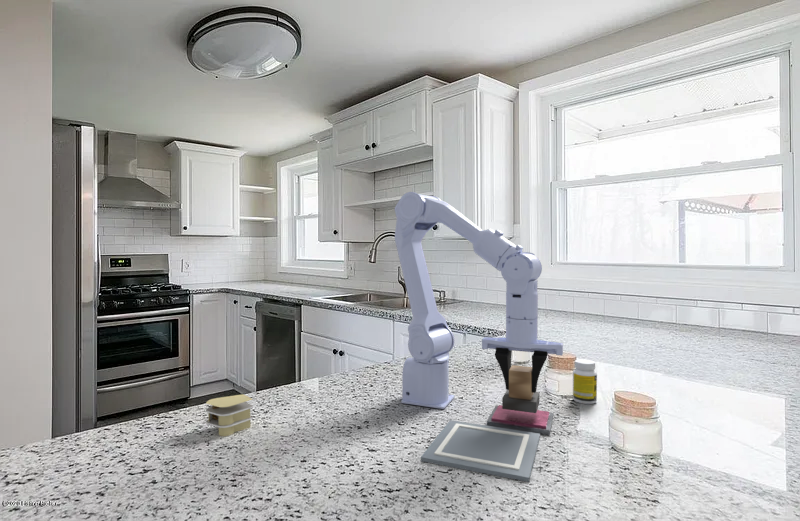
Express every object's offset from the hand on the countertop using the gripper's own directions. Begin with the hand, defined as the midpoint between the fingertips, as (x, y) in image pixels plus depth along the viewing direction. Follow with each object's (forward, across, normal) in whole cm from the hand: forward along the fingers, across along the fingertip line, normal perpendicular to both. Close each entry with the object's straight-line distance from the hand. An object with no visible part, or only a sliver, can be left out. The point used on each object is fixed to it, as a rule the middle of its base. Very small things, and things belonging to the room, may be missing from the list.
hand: (521, 389), depth 84 cm
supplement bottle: (+6, -11, -17) cm, 21 cm away
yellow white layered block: (+6, +48, +24) cm, 54 cm away
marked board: (+6, +4, +14) cm, 16 cm away
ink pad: (+6, 0, 0) cm, 6 cm away
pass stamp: (+3, 0, 0) cm, 3 cm away
